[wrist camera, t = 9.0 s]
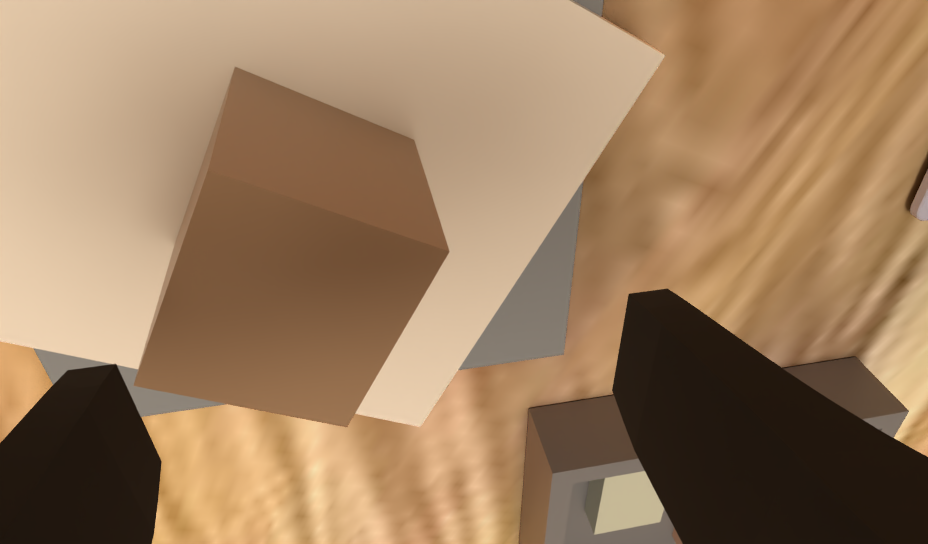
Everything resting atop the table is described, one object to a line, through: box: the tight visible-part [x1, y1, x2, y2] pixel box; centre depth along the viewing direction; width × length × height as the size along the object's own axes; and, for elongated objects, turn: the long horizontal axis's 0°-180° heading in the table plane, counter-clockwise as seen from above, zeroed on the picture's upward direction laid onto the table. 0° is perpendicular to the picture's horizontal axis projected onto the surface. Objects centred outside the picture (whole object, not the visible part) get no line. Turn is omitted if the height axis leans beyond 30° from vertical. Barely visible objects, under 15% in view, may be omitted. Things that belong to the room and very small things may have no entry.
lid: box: [0, 0, 666, 427], centre depth 15 cm, size 14×14×6 cm
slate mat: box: [34, 0, 604, 417], centre depth 17 cm, size 16×16×1 cm
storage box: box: [519, 357, 909, 544], centre depth 29 cm, size 14×14×3 cm
